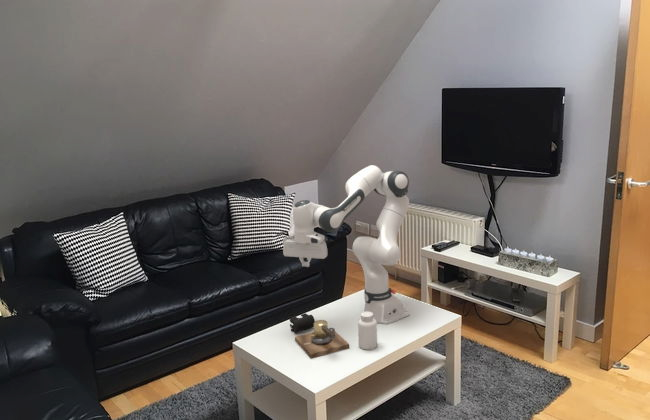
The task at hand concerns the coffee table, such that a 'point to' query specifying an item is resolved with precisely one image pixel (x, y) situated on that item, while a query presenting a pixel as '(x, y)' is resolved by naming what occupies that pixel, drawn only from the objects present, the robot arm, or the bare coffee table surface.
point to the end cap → (302, 323)
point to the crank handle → (322, 330)
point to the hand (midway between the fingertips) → (305, 266)
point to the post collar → (321, 341)
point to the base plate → (320, 350)
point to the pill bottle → (367, 331)
